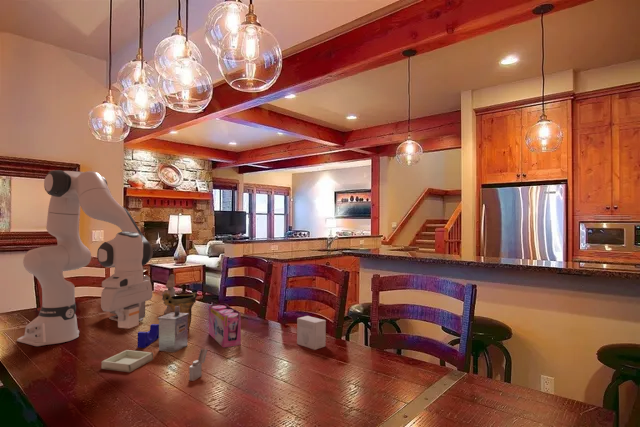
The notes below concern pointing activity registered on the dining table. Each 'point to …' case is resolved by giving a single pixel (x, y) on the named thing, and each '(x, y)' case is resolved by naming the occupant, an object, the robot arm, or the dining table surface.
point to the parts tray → (127, 360)
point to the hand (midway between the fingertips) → (128, 318)
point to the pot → (181, 303)
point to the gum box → (225, 325)
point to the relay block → (130, 317)
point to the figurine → (169, 291)
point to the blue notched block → (148, 336)
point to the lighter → (197, 366)
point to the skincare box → (311, 332)
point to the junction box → (173, 331)
